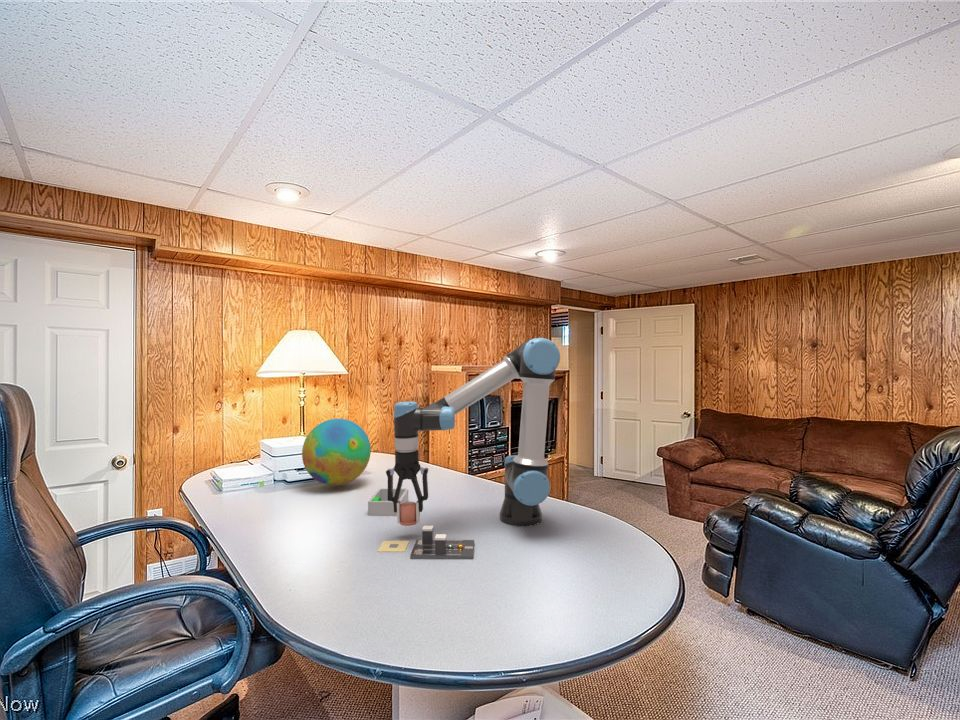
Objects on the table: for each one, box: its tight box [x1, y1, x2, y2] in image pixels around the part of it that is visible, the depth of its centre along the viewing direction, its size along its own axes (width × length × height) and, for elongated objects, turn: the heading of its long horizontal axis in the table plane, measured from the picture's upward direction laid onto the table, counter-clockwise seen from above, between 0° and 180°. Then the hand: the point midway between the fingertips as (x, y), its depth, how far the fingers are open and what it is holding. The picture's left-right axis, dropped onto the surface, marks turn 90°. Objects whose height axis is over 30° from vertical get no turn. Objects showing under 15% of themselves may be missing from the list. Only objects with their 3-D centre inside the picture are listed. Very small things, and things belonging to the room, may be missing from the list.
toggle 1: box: [421, 525, 434, 544], centre depth 143 cm, size 3×3×5 cm
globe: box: [301, 418, 372, 487], centre depth 214 cm, size 30×30×30 cm
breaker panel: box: [409, 538, 475, 560], centre depth 139 cm, size 18×12×2 cm, turn 89°
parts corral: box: [367, 487, 409, 517], centre depth 181 cm, size 12×18×5 cm, turn 179°
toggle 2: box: [434, 533, 447, 554], centre depth 136 cm, size 3×3×5 cm
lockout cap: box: [399, 501, 418, 527], centre depth 150 cm, size 6×6×6 cm
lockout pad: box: [377, 540, 410, 553], centre depth 142 cm, size 8×8×1 cm
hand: (408, 521), depth 150 cm, fingers closed on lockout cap, 5 cm apart
